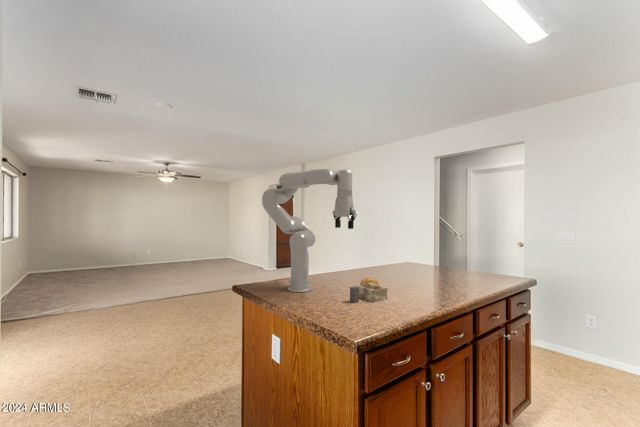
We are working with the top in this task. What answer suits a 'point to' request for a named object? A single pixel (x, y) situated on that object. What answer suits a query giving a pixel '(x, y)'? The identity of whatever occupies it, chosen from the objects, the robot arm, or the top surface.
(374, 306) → the top surface
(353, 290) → the lid
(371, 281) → the croissant
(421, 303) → the top surface
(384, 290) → the box
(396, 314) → the top surface
